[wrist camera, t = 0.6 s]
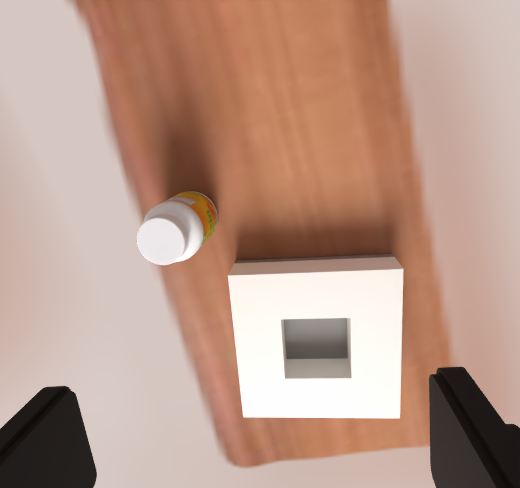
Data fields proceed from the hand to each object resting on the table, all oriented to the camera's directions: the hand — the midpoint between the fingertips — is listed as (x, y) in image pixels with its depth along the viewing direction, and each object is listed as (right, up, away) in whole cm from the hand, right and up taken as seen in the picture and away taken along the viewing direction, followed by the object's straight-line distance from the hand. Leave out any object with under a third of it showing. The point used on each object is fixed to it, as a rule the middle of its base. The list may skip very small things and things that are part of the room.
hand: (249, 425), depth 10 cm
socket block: (+6, -4, +32) cm, 33 cm away
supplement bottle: (-7, +8, +30) cm, 32 cm away
